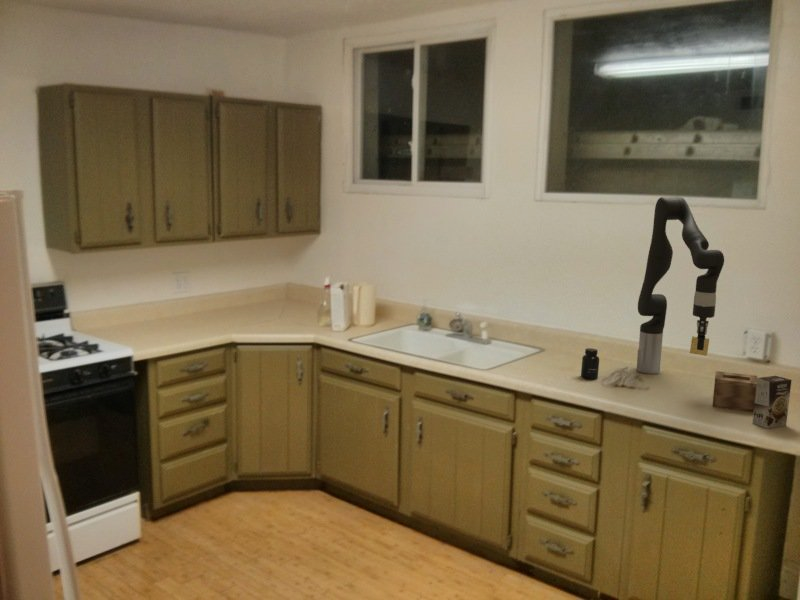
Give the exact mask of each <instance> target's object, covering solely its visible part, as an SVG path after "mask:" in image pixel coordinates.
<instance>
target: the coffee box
mask: <svg viewBox="0 0 800 600" xmlns="http://www.w3.org/2000/svg"><path fill="white" fill-rule="evenodd" d="M757 379H758V380H757V389H756V397H755V406H754V412H753V416H752V424H754V425H757V426H760V427H762V428H764V429H772V428H773V429H774V428H781V427H785V426H787V422H788V421H787V420H788V414H789V413H788V411H789V404H790V397H791V388H792V379H789V378H786V377H783V376H777V375H769V376H763V377H757Z"/></svg>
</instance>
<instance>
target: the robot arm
mask: <svg viewBox="0 0 800 600" xmlns="http://www.w3.org/2000/svg"><path fill="white" fill-rule="evenodd" d="M676 220H678V221H679V222H680V223H681V224H682V230H681V237H682V240H683V243H684V244H685V245H686V246H687V249H689V252H690V256H691V260H692V263H693V265H694V266H695V267H696V268H697V269H699V270H707V271H706V272H705V273H704V274H701V275H698V276H697V278H696V282H695V290H694V295H693V296H694V297H693V308H692V316H694V317H697V318H699V319H697V321H696V327H697V329H696V334H697V336H696V337H697V339H698V343H697V350H703V348H704V341H705V338H706V335H707V333H708V327H709V321H708V320H707V319H711V318H714V317H715V314H716V303H717V286H718V285H717V283H718V280H719V278H720V275H721V272H722V270H723V268H724V264H725V255H724V253H723V252H722V251H721V250H719V249H709V246H710V243H709V241H708V239H707V237H706V236H705V235H704V233H703V232H702V231H701V229H700V228H699V226H698V224H697V223H696V220H695V218H694V215H693V213H692V211H691V208H690V207H689V204H688V203H687V201H686V200H685V198H683V197H681V196H661V197H659V198H658V199H657V200H656V203H655V206H654V216H653V225H652V226H653V227H652V233H651V234H652V235H651V241H650V246H649V250H648V255H647V260H646V267H645V272H644V273H645V274H644V277H643V283H642V287H641V290H640V292H639V296H638V301H637V311H638V314H639V315H640V316H642V317H652V318H651V319H650V320H648V321H646V322H643V323H642V324H641V325H639V340H638V349H637V359H636V370H635V371H636V372H639V373H641V374H642V373H643V374H649V375H655V374H659V373H660V372H661V364H662V363H661V362H662V351H663V350H662V349H663V337H664V328H665V324H666V323H665V322H666V315H667V309H668V301H667V297H666V296H665V295H664V294H661V293H660V294H659V293H655V294H654V293H653V292H654V289H655V287H656V286H657V284H658V283H659V282H660V281H661V280H662V279H663V277H664V276H665V275H666V274H667V273H668V271H669V270H670V268H671V265H672V260H673V254H674V250H673V247H672V244H671V242H670V241H669V239H668V236H667V231H666V229H667V222H668V221H676Z"/></svg>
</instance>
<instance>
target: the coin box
mask: <svg viewBox="0 0 800 600" xmlns="http://www.w3.org/2000/svg"><path fill="white" fill-rule="evenodd" d="M714 373H715V374H714V386H713V393H712V394H713V396H712V408H719V409H720V408H721V409H726V408H728V410H735V411H741V412H742V411H743V412H751V413H754V406H755V397H756V389H757V380H758V375H754V374H746V373H745V374H744V373H738V372H737V373H735V372H727V371H717V370H715V372H714Z"/></svg>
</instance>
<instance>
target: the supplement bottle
mask: <svg viewBox="0 0 800 600" xmlns="http://www.w3.org/2000/svg"><path fill="white" fill-rule="evenodd" d="M599 368H600V358H599V356H598V349H597V348H590V347H587V348H585V351H584V355H583V356H582V357H581V370H580V371H581V372H580V377H581V379H584V380H588V381H595V380H598V377H599V370H600V369H599Z"/></svg>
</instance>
